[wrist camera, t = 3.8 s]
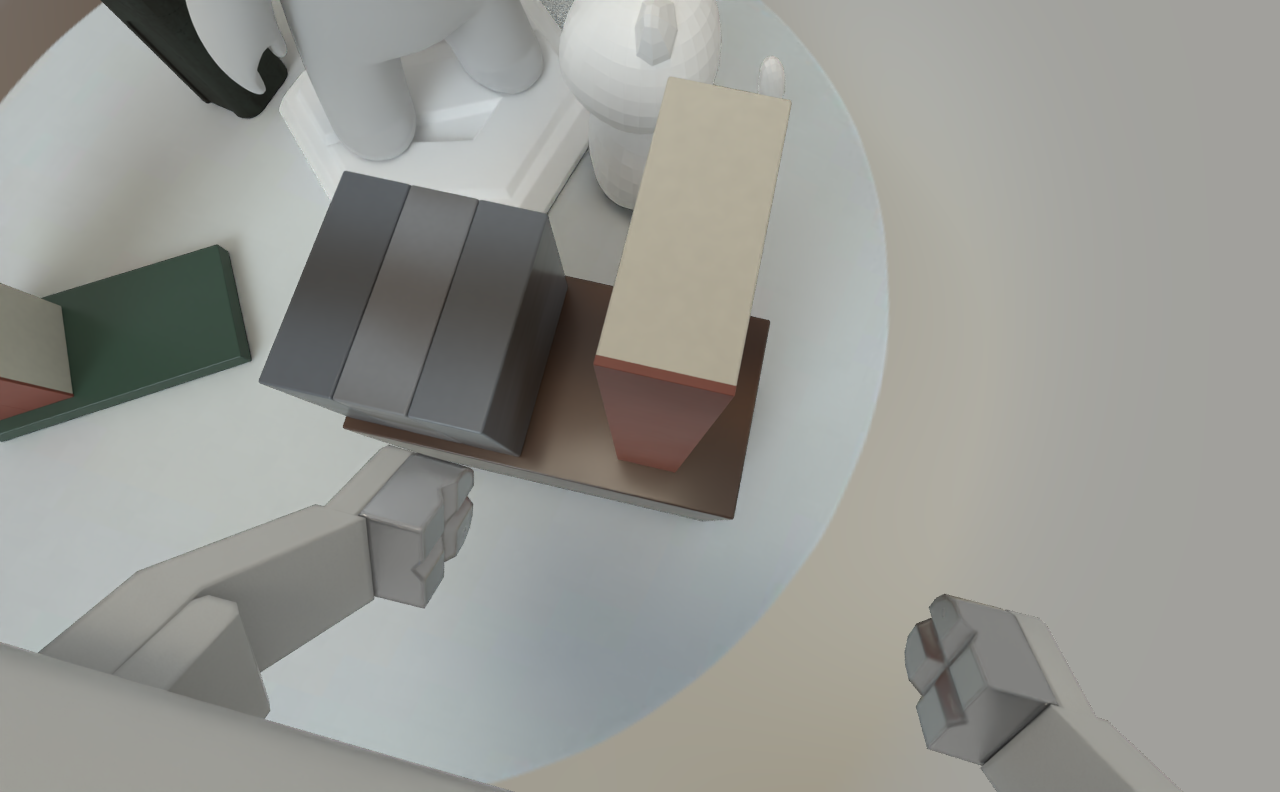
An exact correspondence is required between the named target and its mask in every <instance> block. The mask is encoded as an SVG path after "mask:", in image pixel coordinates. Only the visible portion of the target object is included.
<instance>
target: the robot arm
mask: <svg viewBox="0 0 1280 792" xmlns="http://www.w3.org/2000/svg"><path fill="white" fill-rule="evenodd" d="M473 486H474V471H473V470H472V469H471V468H469V467H465V466H462V465H458V464H455V463H452V462H448V461H445V460H441V459H438V458H435V457H431V456H428V455H424V454H421V453H415V452H412V451H408V450H405V449H402V448H398V447H395V446H392V445H388V446H386V447H383V448H381V449H380V450H379V451H378V452H377V453H376V454H375V455H374V456H373V457H372V458H371V459H370V460H369V461H368V462H367V463H366V464H365V465H364V466H363V467H362V468H361V469H360V470H359V471H358V472H357V473H356V474H355V475H354V476H353V477H352V478H351V479H350V480H349V481H348V482H347V484H346V485H345V486H344V487H343V488H342V489H341V490H340V491H339V492H338V493H337V494H336V495H335V496H334V497H333V498H332V499H331V500H330V501H329V502H328V503H327V504H326V505H325V506H320V505H316V504H315V505H312V506H310V507H307V508H304V509H302V510H299V511H296V512H294V513H291V514H288V515H286V516H283V517H280V518H278V519H275V520H272V521H270V522H267V523H264V524H262V525H259V526H256V527H254V528H251V529H248V530H246V531H243V532H240V533H238V534H235V535H232V536H230V537H227V538H224V539H222V540H219V541H216V542H214V543H211V544H208V545H206V546H203V547H200V548H198V549H195V550H193V551H190V552H187V553H185V554H182V555H179V556H177V557H174V558H171V559H169V560H166V561H163V562H161V563H158V564H155V565H153V566H150V567H147V568H145V569H142V570H139V571H137V572H136V573H135V574H133V575H132V576H131V577H130V578H128V579H127V580H126V581H125V582H124V583H122V584H121V585H120V586H119V587H117V588H116V589H115V590H114V591H113V592H111V593H110V594H109V595H108V596H106V597H105V598H104V599H103V600H102V601H100V602H99V603H98V604H97V605H95V606H94V607H93V608H92V609H91V610H89V611H88V612H87V613H86V614H84V615H83V616H82V617H81V618H80V619H78V620H77V621H76V622H75V623H74V624H72V625H71V626H70V627H69V628H67V629H66V630H65V631H64V632H63V633H61V634H60V635H59V636H58V637H56V638H55V639H54V640H53V641H52V642H50V643H49V644H48V645H47V646H45V647H44V648H43V649H42V650H41V651H39V652H38V653H36V652H32V651H29V650H26V649H22V648H19V647H15V646H12V645H8V644H5V643H2V642H0V792H513V791H509V790H506V789H503V788H499V787H496V786H492V785H489V784H486V783H482V782H479V781H475V780H472V779H468V778H465V777H462V776H458V775H455V774H451V773H448V772H444V771H441V770H437V769H434V768H431V767H427V766H424V765H420V764H417V763H413V762H410V761H407V760H403V759H400V758H396V757H393V756H389V755H386V754H383V753H379V752H376V751H372V750H369V749H365V748H362V747H359V746H355V745H352V744H348V743H345V742H341V741H338V740H334V739H331V738H328V737H324V736H321V735H317V734H314V733H310V732H307V731H304V730H300V729H297V728H293V727H290V726H286V725H283V724H280V723H276V722H273V721H269V720H266V719H265V717H266V716H267V715H268V713H269V712H270V704H269V698H268V695H267V692H266V689H265V686H264V683H263V680H262V677H261V674H260V672H262V671H263V670H265V669H266V668H268V667H270V666H271V665H273V664H274V663H276V662H277V661H279V660H281V659H282V658H284V657H285V656H287V655H288V654H290V653H291V652H293V651H295V650H296V649H298V648H299V647H301V646H302V645H304V644H305V643H307V642H309V641H310V640H312V639H313V638H315V637H316V636H318V635H319V634H321V633H323V632H324V631H326V630H327V629H329V628H330V627H332V626H334V625H335V624H337V623H338V622H340V621H341V620H343V619H344V618H346V617H348V616H349V615H351V614H352V613H354V612H355V611H357V610H358V609H360V608H362V607H363V606H365V605H366V604H368V603H369V602H371V601H373V600H374V596H376V597H380V598H384V599H388V600H392V601H396V602H400V603H404V604H408V605H412V606H416V607H420V608H424V609H425V607H426V605H427V604H428V602H429V600H430V599H431V597H432V595H433V594H434V592H435V591H436V589H437V587H438V586H439V584H440V582H441V581H442V579H443V577H444V562H446V561H448V560H450V559H452V558H453V557H455V556H457V554H458V552H459V550H460V549H461V547H462V545H463V543H464V541H465V539H466V536H467V533H468V531H469V528H470V524H471V519H472V515H473V504H472V502H471V501H470V499H469V498H468V496H467V495H468V494H469V492H470V491H471V489H472V487H473ZM929 609H930V613H931V617H932V618H930V619H927V620H925V621H922V622H919V623H917V624H916V625H915V627H914V628H913V630H912V631H911V633H910V634H909V636H908V639H907V644H906V648H905V666H906V670H907V674H908V678H909V681H910V682H911V683H912V684H913V686H914V687H915V688H916V689H917V690H918V692H919V693H920V694H921V695H922V696H921V698H920V700H919V702H918V704H917V705H916V709H917V713H918V716H919V720H920V723H921V727H922V731H923V735H924V738H925V742H926V746H927V749H930V750H933V751H936V752H939V753H943V754H946V755H949V756H952V757H956V758H959V759H962V760H965V761H969V762H972V763H975V764H978V765H982V767H981V770H982V771H983V773H984V774H985V775H986V777H987V778H988V780H989V781H990V782H991V784H992V785H993V787H994V788H995V790H996V791H997V792H1183V791H1182V790H1181V789H1180V788H1179V787H1178V786H1176V784H1174V783H1173V782H1172V781H1171V780H1170V779H1169V778H1168V777H1167V776H1166V775H1165V774H1164V773H1163V772H1162V771H1161V770H1160V769H1159V768H1157V767H1156V766H1155V765H1154V764H1153V763H1152V762H1151V761H1150V760H1149V759H1148V758H1147V757H1146V756H1145V755H1144V754H1143V753H1141V751H1139V750H1138V749H1137V748H1136V747H1135V746H1134V745H1133V744H1132V743H1131V742H1130V741H1129V740H1128V739H1127V738H1126V737H1125V736H1124V735H1122V734H1121V733H1120V732H1119V731H1118V730H1117V729H1116V728H1115V727H1114V726H1113V725H1112V724H1111V723H1110V722H1109V721H1108V720H1105V719H1102V718H1098V717H1096V715H1095V713H1094V711H1093V709H1092V707H1091V705H1090V704H1089V702H1088V700H1087V698H1086V696H1085V694H1084V693H1083V691H1082V689H1081V687H1080V685H1079V683H1078V681H1077V680H1076V678H1075V676H1074V674H1073V672H1072V670H1071V669H1070V667H1069V665H1068V663H1067V661H1066V659H1065V658H1064V656H1063V654H1062V652H1061V650H1060V648H1059V646H1058V645H1057V643H1056V641H1055V639H1054V637H1053V635H1052V634H1051V632H1050V630H1049V628H1048V626H1047V625H1046V624H1045V623H1044V622H1043V621H1042V620H1040V619H1039V618H1038V617H1034V616H1030V615H1026V614H1022V613H1018V612H1014V611H1010V610H1003V609H1001V608H998V607H994V606H990V605H986V604H982V603H978V602H974V601H970V600H966V599H963V598H959V597H955V596H951V595H947V594H943V595H941V596H939V597H937V598H936V599H935V600H934V601H933V603H932V604H931V605H930V606H929Z"/></svg>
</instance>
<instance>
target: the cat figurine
mask: <svg viewBox="0 0 1280 792" xmlns="http://www.w3.org/2000/svg"><path fill="white" fill-rule="evenodd" d="M721 41H722V37H721V26H720V17H719V11H718V7H717V3H716V0H574V2H573V4H572V6H571V8H570V10H569V12H568V13H567V16H566V20H565V23H564V26H563V30H562V33H561V36H560V43H559V63H560V69H561V73H562V76H563V79H564V81H565V83H566V84H567V86H568V87H569V89H570V90H571V91H572V93H573V94H574V96H575V97H576V98H577V100H578V101H579V102H580V103H581V104H582V105H583V106H584V107H585V108H586V109H587V110H588V111H589V112H590V118H589V127H588V137H589V150H590V156H591V161H592V165H593V169H594V173H595V176H596V178H597V180H598V183H599V185H600V187H601V188H602V190H603V191H604V192H605V194H606V195H607V196H608V197H609V198H610V199H611V200H612V201H614V202H615V203H616V204H617V205H619V206H622V207H625V208H628V209H632V210H634V206H635V203H636V199H637V195H638V191H639V187H640V183H641V180H642V176H643V172H644V168H645V164H646V160H647V157H648V153H649V149H650V145H651V141H652V137H653V134H654V130H655V126H656V122H657V118H658V114H659V111H660V107H661V103H662V99H663V95H664V91H665V88H666V84H667V80H668V78H669V77H671V76H672V77H677V78H682V79H687V80H692V81H697V82H701V83H706V84H711V85H714V80H715V77H716V74H717V71H718V67H719V62H720V53H721ZM784 92H785V73H784V68H783V66H782V64H781V62H780V61H779V59H778V58H776V57H775V56H768V57H767V58H766V59H764V60H763V62H762V64H761V66H760V72H759V88H758V94H761V95H766V96H771V97H776V98H781V99H783V96H784Z"/></svg>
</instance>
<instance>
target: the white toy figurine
mask: <svg viewBox="0 0 1280 792" xmlns="http://www.w3.org/2000/svg"><path fill="white" fill-rule="evenodd" d="M280 2H281V5H282V7H283V10H284V13H285V16H286V19H287V22H288V25H289V27H290V30H291V33H292V36H293V38H294V41H295V44H296V46H297V49H298V51H299V54H300V57H301V59H302V62H303V64H304V67H305V70H304V71H303V72H302V74H301V75H300V76H299V77H298V79H297V80H296V81H295V82H294V84H293V85H292V86H291V87H290V89H289V90H288V91H287V92H286V94H285V95H284V97H283V99H282V102H281V105H280V108H279V112H280V114H281V115H282V117H283V119H284V121H285V123H286V124H287V126H288V128H289V130H290V131H291V133H292V135H293V137H294V138H295V140H296V142H297V144H298V145H299V147H300V149H301V151H302V152H303V154H304V156H305V157H306V159H307V161H308V163H309V164H310V166H311V168H312V170H313V171H314V173H315V175H316V177H317V178H318V180H319V182H320V184H321V185H322V187H323V189H324V191H325V192H326V194H327V196H328V198H329V199H330V201H332V198H333V196H334V193H335V191H336V189H337V186H338V184H339V181H340V179H341V176H342V174H343V172H344V171H350V172H355V173H359V174H364V175H369V176H373V177H378V178H383V179H387V180H392V181H397V182H401V183H406V184H409V185H411V186H412V185H415V186H420V187H424V188H429V189H434V190H438V191H443V192H448V193H452V194H457V195H462V196H466V197H471V198H476V199H478V200H479V201H480V200H485V201H490V202H494V203H499V204H504V205H509V206H513V207H518V208H523V209H527V210H532V211H537V212H541V213H546V214H547V212H548V211H549V209H550V207H551V206H552V204H553V203H554V201H555V199H556V198H557V196H558V195H559V193H560V191H561V190H562V188H563V187H564V185H565V183H566V182H567V180H568V179H569V177H570V175H571V174H572V172H573V171H574V169H575V167H576V166H577V164H578V163H579V161H580V159H581V158H582V156H583V155H584V153H585V151H586V150H587V148H588V147H589V137H588V127H589V118H590V112H589V111H588V110H587V109H586V108H585V107H584V106H583V105H582V104H581V103H580V102H579V101H578V100H577V98H576V97H575V96H574V94H573V93H572V91H571V90H570V89H569V87H568V86H567V84H566V83H565V81H564V79H563V76H562V73H561V69H560V63H559V43H560V36H561V33H562V30H561V28H560V27H559V26H558V24H557V23H556V22H555V20H554V19H553V18H552V16H551V15H550V13H549V12H548V11H547V9H546V8H545V7H544V5H543V4H542V3H541V1H540V0H280ZM186 4H187V7H188V11H189V14H190V17H191V20H192V22H193V25H194V27H195V29H196V32H197V34H198V36H199V38H200V40H201V41H202V43H203V45H204V47H205V48H206V50H207V51H208V53H209V54H210V56H211V57H212V58H213V60H214V61H215V62H216V63H217V65H218V66H219V67H220V68H221V69H222V70H223V71H224V72H225V73H226V74H227V75H228V76H229V77H230V78H231V79H233V80H234V81H235V82H236V83H238V84H239V85H241V86H242V87H244V88H245V89H247V90H249V91H251V92H253V93H256V94H263V93H264V92H265V91H266V88H265V85H264V82H263V80H262V78H261V77H260V75H259V73H258V71H257V68H258V64H259V61H260V58H261V56H262V54H263V52H264V51H265V50H266V49H267V48H268V47H269V49H270V50H271V51H272V52H273V54H275V55H276V56H278V57H284V56H285V55H286V53H287V47H286V43H285V41H284V38H283V36H282V34H281V32H280V30H279V28H278V25H277V22H276V19H275V15H274V11H273V7H272V2H271V0H186Z"/></svg>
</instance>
